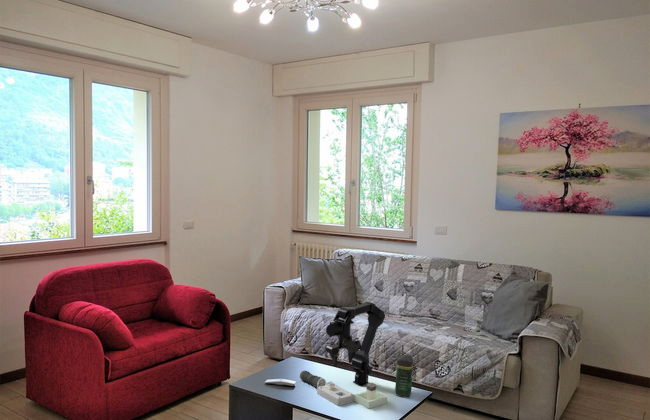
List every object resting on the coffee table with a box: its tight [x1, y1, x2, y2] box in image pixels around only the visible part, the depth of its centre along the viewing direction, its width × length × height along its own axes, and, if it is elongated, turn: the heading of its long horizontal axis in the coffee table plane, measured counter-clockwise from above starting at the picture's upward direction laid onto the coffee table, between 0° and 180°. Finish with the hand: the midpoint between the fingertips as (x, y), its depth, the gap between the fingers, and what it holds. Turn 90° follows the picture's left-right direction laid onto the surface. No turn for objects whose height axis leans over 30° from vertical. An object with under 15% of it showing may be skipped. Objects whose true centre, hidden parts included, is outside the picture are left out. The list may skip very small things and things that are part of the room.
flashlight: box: [299, 370, 327, 389], centre depth 256 cm, size 15×5×5 cm, turn 40°
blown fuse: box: [366, 381, 377, 401], centre depth 237 cm, size 3×3×8 cm
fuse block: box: [316, 384, 355, 406], centre depth 241 cm, size 10×16×3 cm, turn 37°
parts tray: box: [353, 390, 389, 409], centre depth 238 cm, size 12×10×3 cm
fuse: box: [326, 381, 336, 390], centre depth 244 cm, size 3×3×6 cm
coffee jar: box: [394, 354, 414, 398], centre depth 249 cm, size 10×8×19 cm
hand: (342, 364), depth 250 cm, fingers open, 9 cm apart
